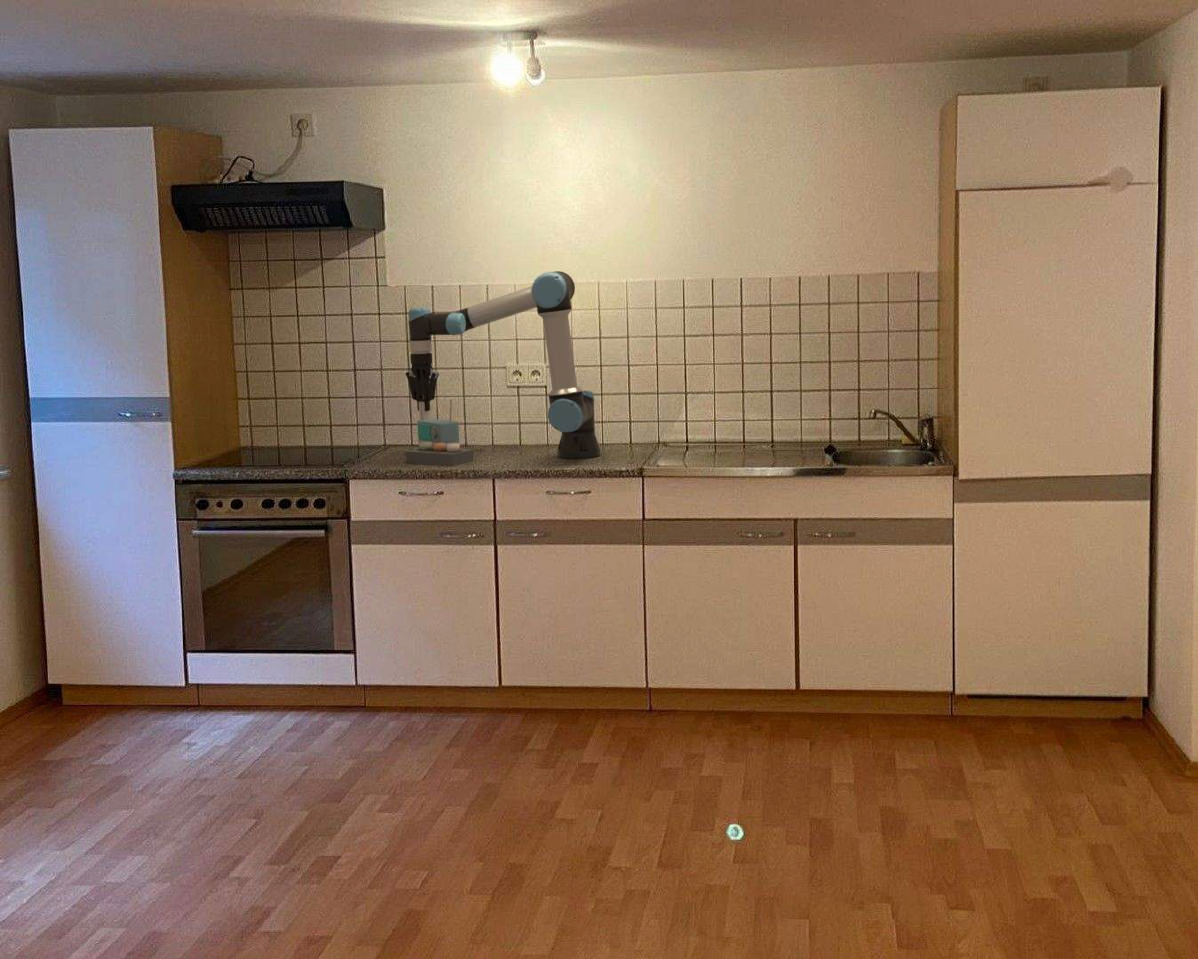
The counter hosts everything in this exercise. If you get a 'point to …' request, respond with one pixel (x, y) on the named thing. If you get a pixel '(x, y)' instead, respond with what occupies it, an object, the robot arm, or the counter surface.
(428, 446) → the button sage
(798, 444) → the counter surface
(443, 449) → the button terracotta
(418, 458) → the grey piece
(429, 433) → the radio
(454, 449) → the button ivory
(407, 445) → the counter surface
